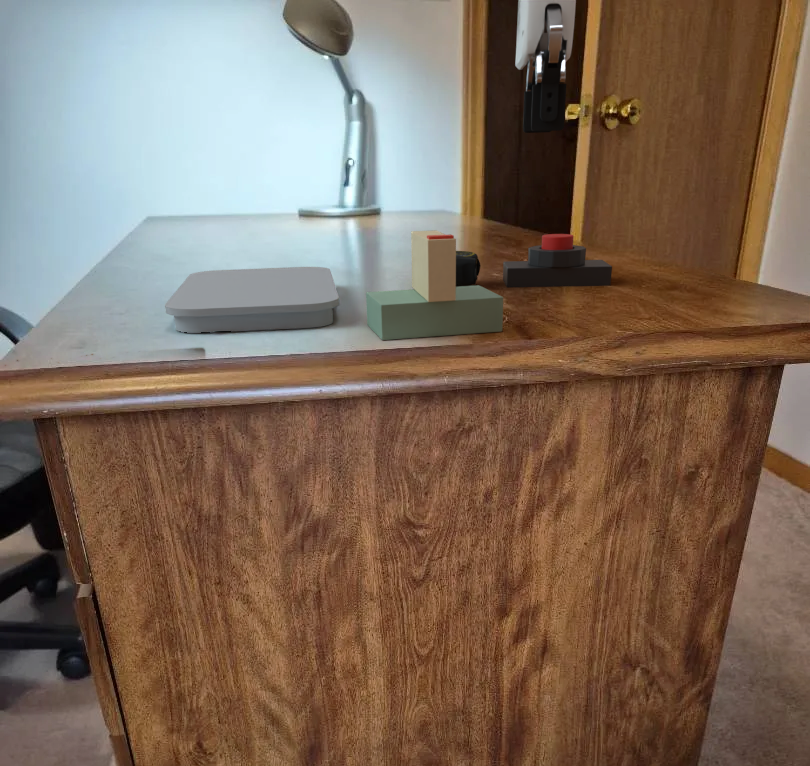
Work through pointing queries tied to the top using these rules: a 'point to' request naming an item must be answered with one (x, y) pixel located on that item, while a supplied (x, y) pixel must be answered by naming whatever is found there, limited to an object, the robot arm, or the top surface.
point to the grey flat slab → (254, 300)
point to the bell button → (557, 241)
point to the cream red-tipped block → (434, 265)
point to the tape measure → (467, 268)
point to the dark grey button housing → (556, 269)
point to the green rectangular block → (433, 313)
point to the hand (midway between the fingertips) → (542, 131)
